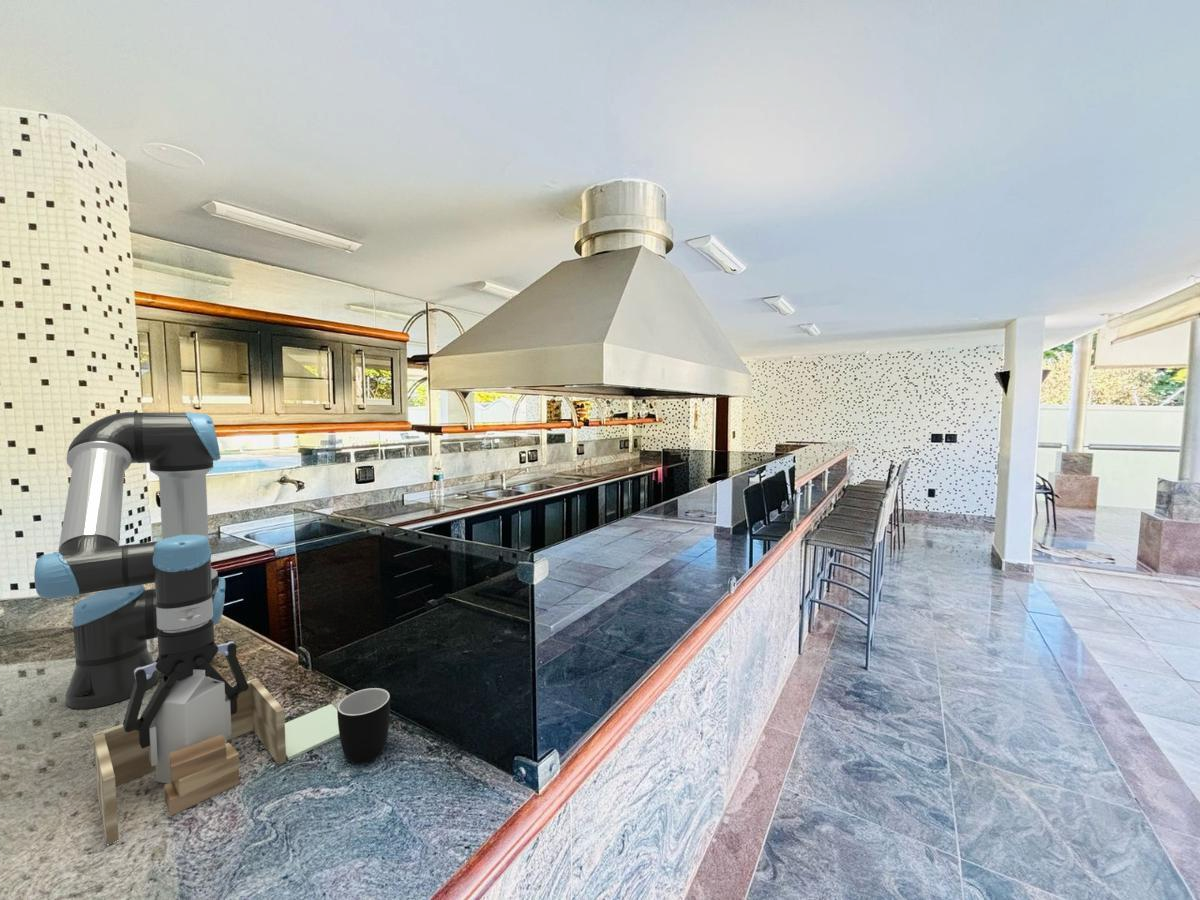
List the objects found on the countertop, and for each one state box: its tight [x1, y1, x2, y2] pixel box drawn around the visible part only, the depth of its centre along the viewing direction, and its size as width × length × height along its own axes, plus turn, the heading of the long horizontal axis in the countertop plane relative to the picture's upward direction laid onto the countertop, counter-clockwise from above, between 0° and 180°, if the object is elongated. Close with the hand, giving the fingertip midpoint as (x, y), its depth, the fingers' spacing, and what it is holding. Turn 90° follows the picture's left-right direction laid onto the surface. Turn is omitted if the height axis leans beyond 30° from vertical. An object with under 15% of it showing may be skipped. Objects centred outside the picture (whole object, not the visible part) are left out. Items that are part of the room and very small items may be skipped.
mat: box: [285, 703, 340, 761], centre depth 98 cm, size 12×12×1 cm
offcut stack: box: [163, 734, 240, 817], centre depth 82 cm, size 6×9×8 cm, turn 140°
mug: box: [336, 687, 391, 764], centre depth 92 cm, size 12×9×10 cm
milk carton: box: [153, 669, 228, 784], centre depth 86 cm, size 7×7×19 cm
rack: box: [92, 677, 287, 845], centre depth 85 cm, size 17×23×10 cm
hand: (191, 746), depth 86 cm, fingers closed on milk carton, 9 cm apart
